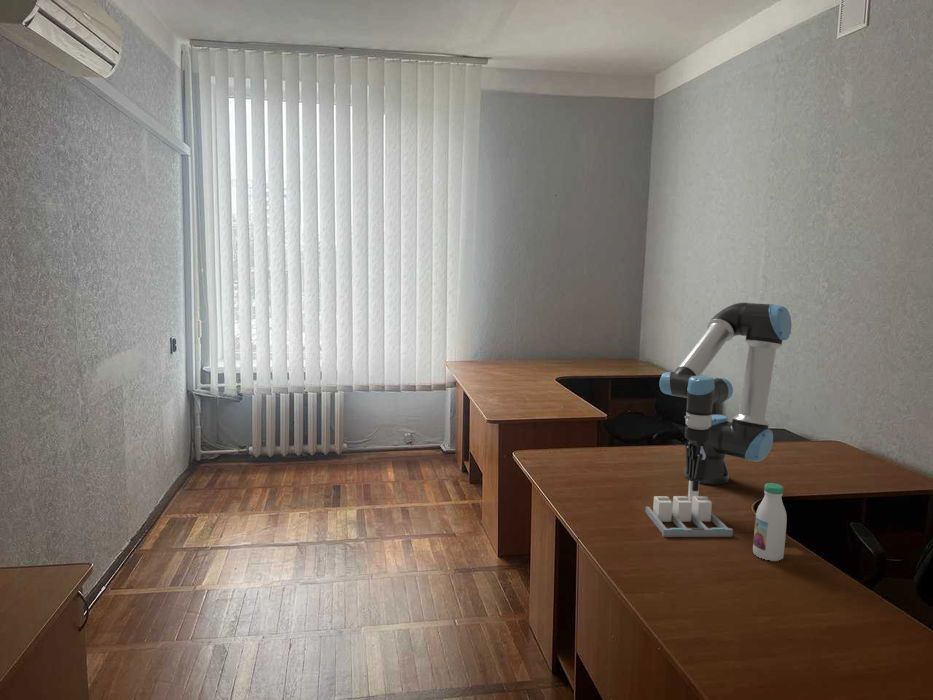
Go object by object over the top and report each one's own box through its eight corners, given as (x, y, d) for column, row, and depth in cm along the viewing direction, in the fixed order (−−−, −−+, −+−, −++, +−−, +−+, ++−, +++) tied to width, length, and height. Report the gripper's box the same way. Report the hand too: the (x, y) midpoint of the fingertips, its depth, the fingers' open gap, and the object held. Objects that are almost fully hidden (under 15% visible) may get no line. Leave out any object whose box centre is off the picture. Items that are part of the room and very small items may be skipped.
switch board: (706, 516, 208) (707, 504, 208) (731, 541, 191) (732, 528, 190) (643, 516, 208) (644, 505, 207) (662, 541, 190) (663, 529, 189)
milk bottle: (781, 551, 184) (788, 482, 181) (785, 564, 177) (791, 492, 174) (751, 547, 187) (757, 479, 184) (753, 559, 180) (759, 488, 177)
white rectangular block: (703, 514, 206) (705, 494, 205) (710, 521, 201) (712, 500, 200) (691, 514, 206) (692, 494, 204) (697, 521, 201) (698, 500, 200)
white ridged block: (684, 514, 205) (686, 494, 204) (690, 521, 200) (692, 500, 199) (672, 514, 205) (673, 494, 204) (677, 521, 200) (679, 500, 199)
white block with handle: (665, 514, 205) (666, 494, 204) (671, 521, 200) (672, 500, 199) (652, 515, 205) (654, 494, 204) (658, 521, 200) (659, 500, 199)
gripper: (678, 420, 212) (673, 492, 215) (693, 432, 199) (688, 507, 203) (701, 421, 212) (696, 492, 216) (718, 432, 199) (713, 507, 203)
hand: (692, 499), depth 209 cm, fingers closed
